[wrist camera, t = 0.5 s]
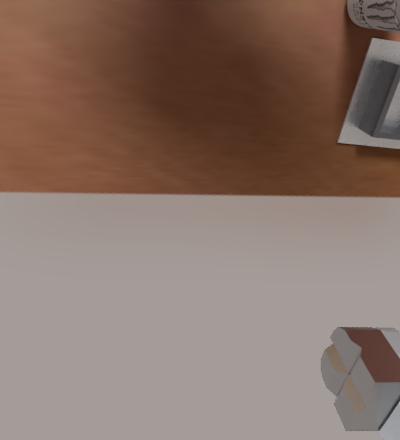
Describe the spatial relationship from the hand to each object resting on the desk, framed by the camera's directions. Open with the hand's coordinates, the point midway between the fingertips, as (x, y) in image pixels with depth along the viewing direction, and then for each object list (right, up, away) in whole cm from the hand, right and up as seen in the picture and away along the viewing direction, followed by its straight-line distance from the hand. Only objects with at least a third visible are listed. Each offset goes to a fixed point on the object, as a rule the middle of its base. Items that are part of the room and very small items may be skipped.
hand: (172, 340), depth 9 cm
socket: (+29, +20, +45) cm, 57 cm away
